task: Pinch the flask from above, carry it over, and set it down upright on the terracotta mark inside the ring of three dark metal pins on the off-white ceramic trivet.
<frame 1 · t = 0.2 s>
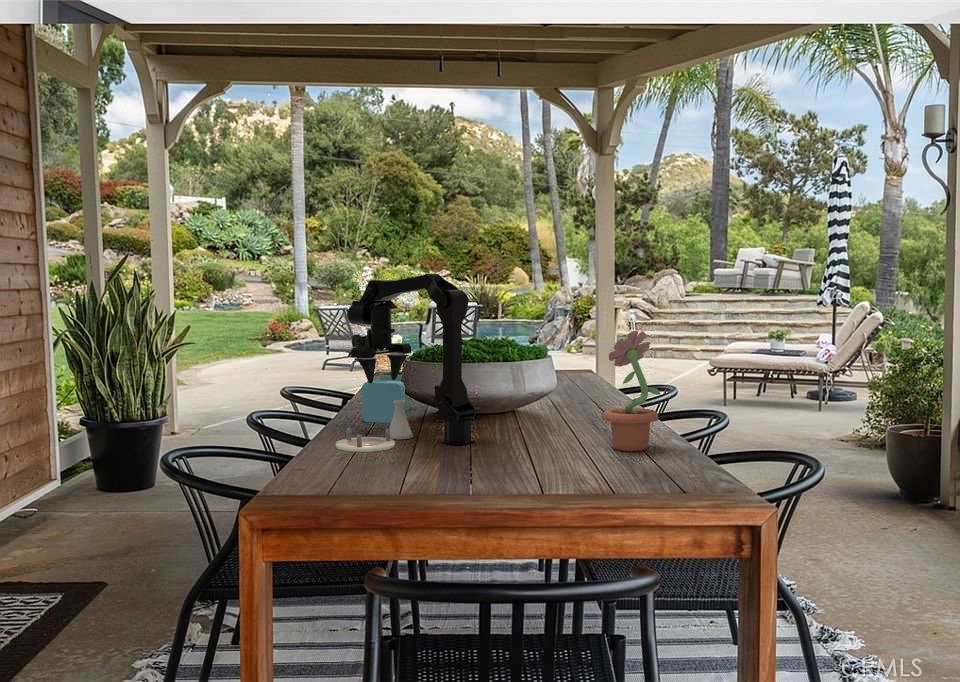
hand: (382, 381, 252), 14 cm above the table, tool pointing down, fingers open, 9 cm apart
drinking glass: (395, 410, 292), on the table
decorative flower: (631, 449, 229), on the table
flask: (399, 438, 245), on the table
pin cradle: (365, 446, 233), on the table
blue rounded slab: (383, 422, 270), on the table
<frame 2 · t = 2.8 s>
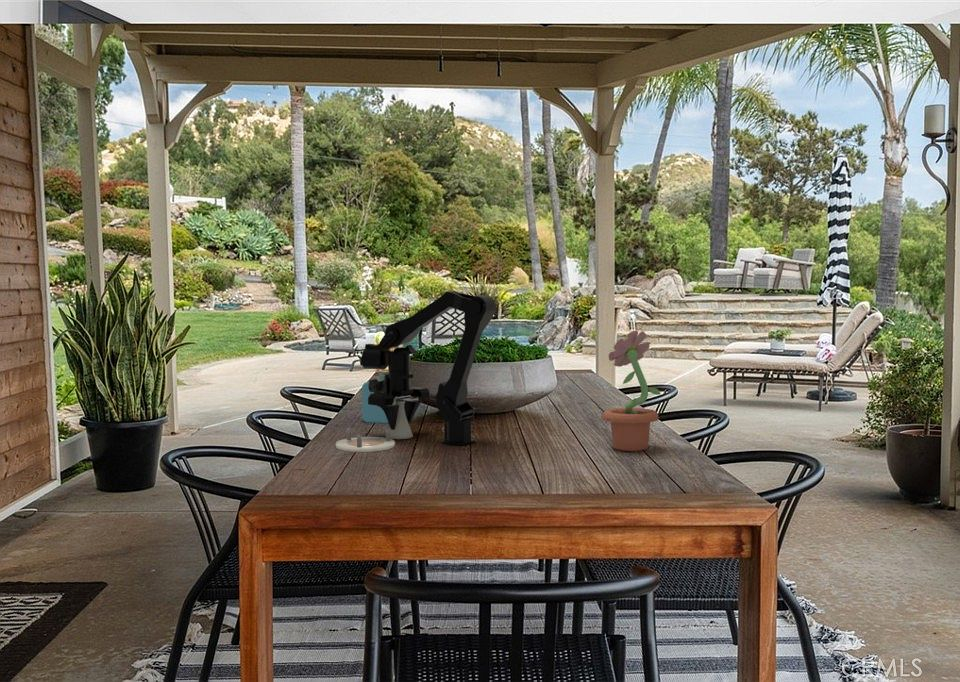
hand: (399, 428, 245), 3 cm above the table, tool pointing down, fingers closed on flask, 5 cm apart
flask: (399, 438, 245), on the table, touching gripper
everything else where it was.
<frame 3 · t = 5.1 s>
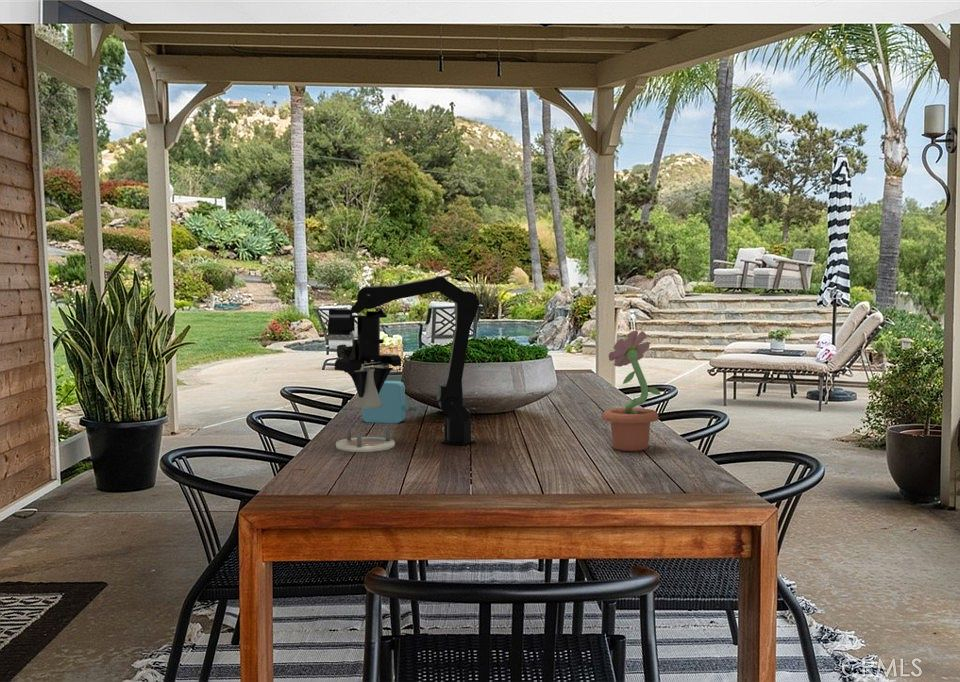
hand: (368, 396, 234), 13 cm above the table, tool pointing down, fingers closed on flask, 5 cm apart
flask: (368, 408, 234), point 10 cm above the table, touching gripper
everything else where it was.
when the fingers open (5 cm above the table, at t = 7.5 s): flask stays where it is, resting on pin cradle.
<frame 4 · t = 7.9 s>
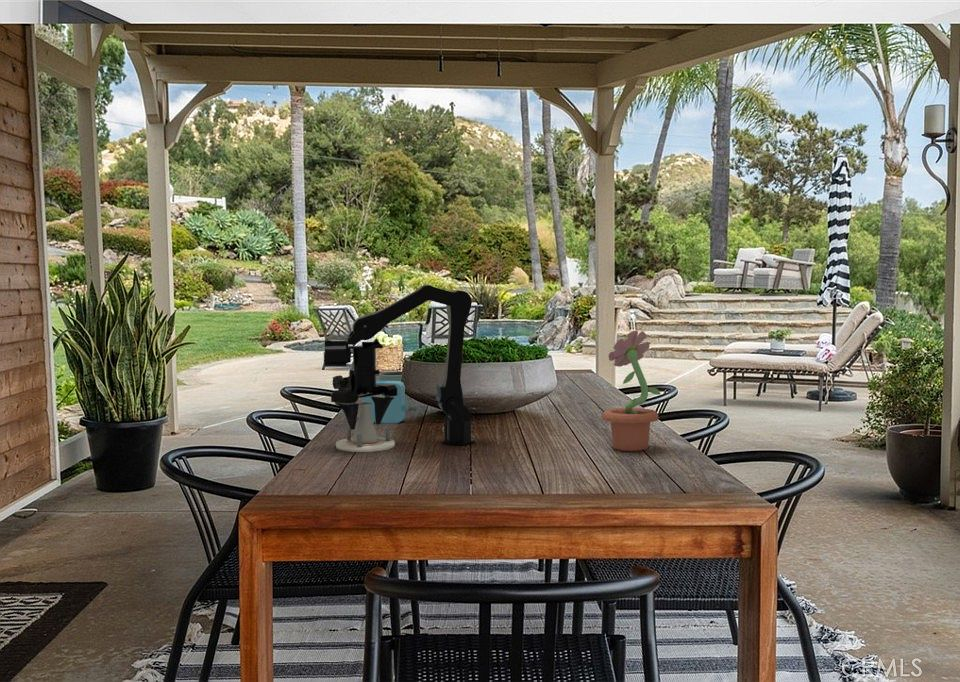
hand: (365, 426, 233), 5 cm above the table, tool pointing down, fingers open, 9 cm apart
flask: (365, 442, 233), point 1 cm above the table, touching pin cradle
everything else where it was.
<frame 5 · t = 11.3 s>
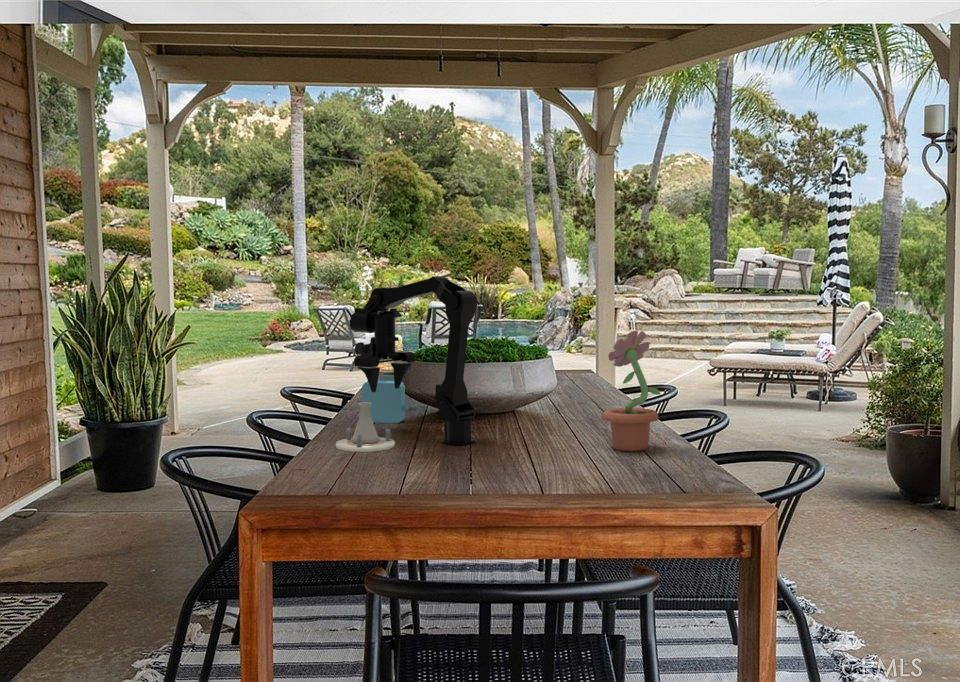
hand: (385, 390, 250), 12 cm above the table, tool pointing down, fingers open, 9 cm apart
nothing on the table moved.
at the end: flask 0.1 cm off-centre on the pin cradle, point 0.9 cm above the pin cradle's base; flask tilted 0°; the gripper is holding nothing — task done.
